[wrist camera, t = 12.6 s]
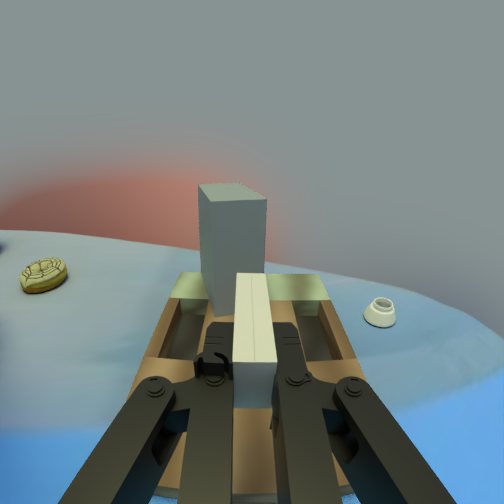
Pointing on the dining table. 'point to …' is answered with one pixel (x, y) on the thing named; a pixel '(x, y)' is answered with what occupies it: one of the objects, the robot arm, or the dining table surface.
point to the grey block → (229, 240)
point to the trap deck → (245, 420)
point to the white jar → (380, 313)
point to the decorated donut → (43, 275)
